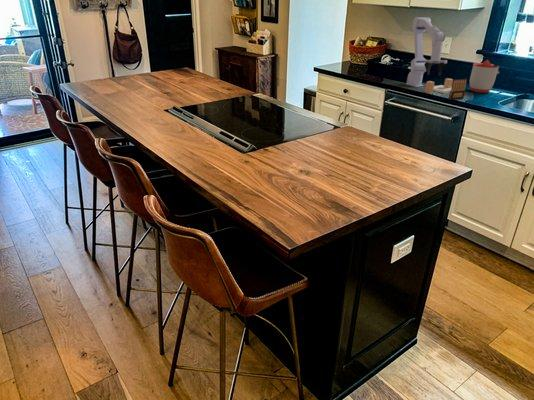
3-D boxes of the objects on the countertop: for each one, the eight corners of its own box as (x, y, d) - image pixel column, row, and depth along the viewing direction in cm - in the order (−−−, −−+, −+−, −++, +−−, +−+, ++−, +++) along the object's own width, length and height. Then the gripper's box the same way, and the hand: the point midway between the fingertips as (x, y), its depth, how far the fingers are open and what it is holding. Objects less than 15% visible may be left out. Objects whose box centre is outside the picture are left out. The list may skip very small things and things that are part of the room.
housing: (427, 89, 282) (430, 78, 279) (441, 87, 289) (443, 76, 286) (444, 93, 272) (446, 82, 269) (457, 91, 279) (460, 80, 276)
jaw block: (424, 92, 275) (426, 81, 271) (428, 91, 276) (430, 81, 273) (429, 93, 272) (431, 82, 269) (432, 92, 274) (434, 82, 271)
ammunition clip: (461, 97, 264) (465, 78, 258) (463, 98, 262) (468, 79, 257) (448, 99, 260) (452, 79, 254) (450, 99, 259) (454, 80, 253)
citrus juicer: (499, 94, 275) (508, 62, 266) (474, 93, 274) (482, 62, 265) (486, 88, 289) (494, 58, 280) (462, 88, 288) (469, 57, 279)
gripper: (422, 52, 267) (419, 74, 271) (444, 52, 257) (441, 75, 261) (428, 52, 271) (425, 74, 276) (449, 52, 261) (446, 75, 266)
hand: (433, 75), depth 269 cm, fingers open, 7 cm apart
